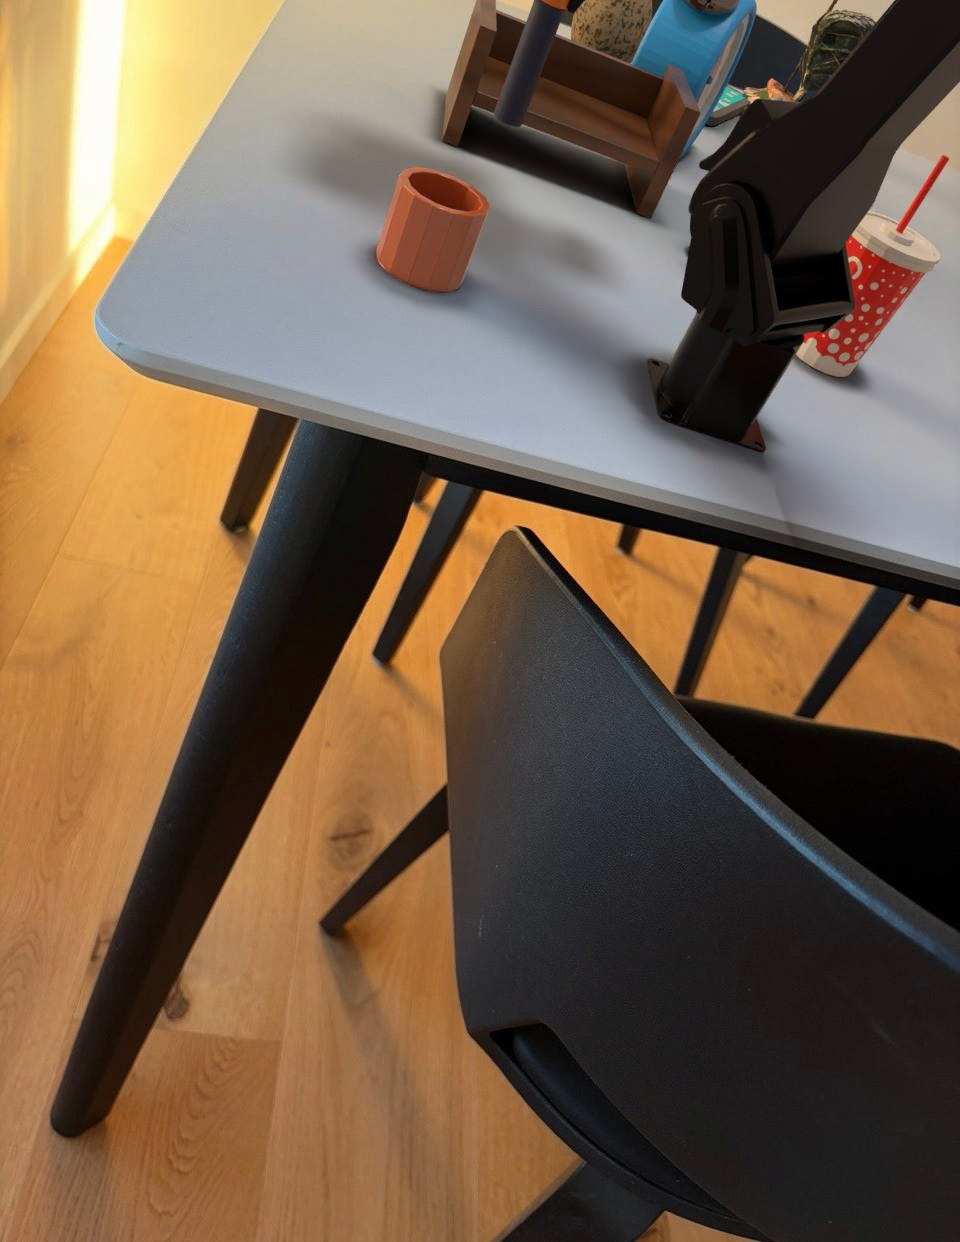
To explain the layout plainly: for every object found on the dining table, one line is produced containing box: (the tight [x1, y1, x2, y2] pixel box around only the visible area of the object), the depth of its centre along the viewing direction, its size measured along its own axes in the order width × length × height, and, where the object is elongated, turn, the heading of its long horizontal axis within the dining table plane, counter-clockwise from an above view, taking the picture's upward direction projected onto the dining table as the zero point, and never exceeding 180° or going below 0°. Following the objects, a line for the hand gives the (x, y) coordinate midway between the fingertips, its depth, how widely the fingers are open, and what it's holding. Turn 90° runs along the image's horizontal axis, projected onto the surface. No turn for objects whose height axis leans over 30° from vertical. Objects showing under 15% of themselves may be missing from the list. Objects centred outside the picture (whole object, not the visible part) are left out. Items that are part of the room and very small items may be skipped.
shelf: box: [441, 0, 701, 219], centre depth 82 cm, size 10×16×8 cm, turn 90°
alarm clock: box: [630, 0, 758, 158], centre depth 91 cm, size 13×6×15 cm, turn 156°
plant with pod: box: [742, 0, 877, 104], centre depth 112 cm, size 8×11×20 cm
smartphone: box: [705, 84, 751, 127], centre depth 112 cm, size 9×1×15 cm
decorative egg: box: [570, 0, 653, 64], centre depth 103 cm, size 7×7×10 cm
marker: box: [493, 0, 570, 128], centre depth 63 cm, size 2×2×10 cm
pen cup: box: [375, 166, 491, 293], centre depth 61 cm, size 5×5×5 cm
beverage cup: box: [795, 154, 950, 378], centre depth 70 cm, size 6×6×14 cm
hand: (550, 3), depth 62 cm, fingers closed on marker, 2 cm apart
